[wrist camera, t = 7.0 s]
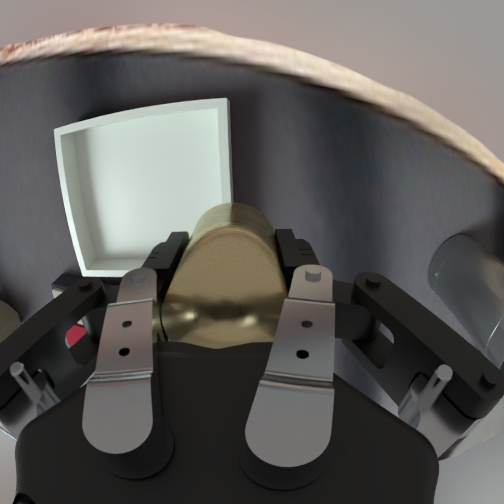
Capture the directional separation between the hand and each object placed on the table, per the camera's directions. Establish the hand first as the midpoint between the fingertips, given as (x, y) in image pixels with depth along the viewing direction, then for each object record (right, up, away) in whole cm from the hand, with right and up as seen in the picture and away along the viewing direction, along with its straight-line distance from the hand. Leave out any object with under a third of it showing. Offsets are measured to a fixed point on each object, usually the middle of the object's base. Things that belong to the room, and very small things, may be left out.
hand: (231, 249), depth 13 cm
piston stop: (0, 0, +1) cm, 1 cm away
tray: (-10, +6, +15) cm, 19 cm away
